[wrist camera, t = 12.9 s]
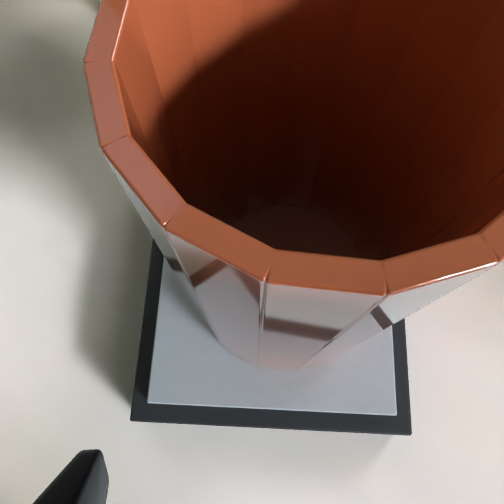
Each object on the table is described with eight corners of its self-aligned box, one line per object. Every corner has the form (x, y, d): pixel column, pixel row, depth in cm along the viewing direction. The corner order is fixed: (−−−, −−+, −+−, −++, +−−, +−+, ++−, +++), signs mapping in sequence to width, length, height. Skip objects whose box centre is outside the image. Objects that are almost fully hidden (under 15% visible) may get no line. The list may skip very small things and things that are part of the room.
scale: (396, 432, 19) (416, 436, 17) (141, 419, 19) (125, 421, 17) (383, 181, 23) (398, 156, 21) (170, 173, 23) (161, 147, 21)
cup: (323, 406, 17) (503, 409, 5) (163, 314, 18) (-24, 129, 6) (398, 248, 19) (658, -31, 7) (249, 175, 20) (244, -175, 8)
